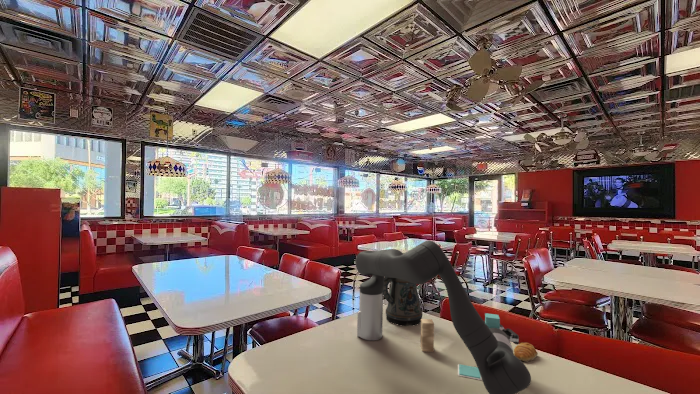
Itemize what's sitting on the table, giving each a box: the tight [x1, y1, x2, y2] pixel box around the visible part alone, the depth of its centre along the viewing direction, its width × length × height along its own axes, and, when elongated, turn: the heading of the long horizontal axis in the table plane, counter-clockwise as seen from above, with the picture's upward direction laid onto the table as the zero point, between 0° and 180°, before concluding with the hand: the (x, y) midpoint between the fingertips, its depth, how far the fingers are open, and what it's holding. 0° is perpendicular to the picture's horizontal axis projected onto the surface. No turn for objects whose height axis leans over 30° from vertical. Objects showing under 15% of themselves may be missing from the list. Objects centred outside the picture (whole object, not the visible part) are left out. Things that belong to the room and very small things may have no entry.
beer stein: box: [383, 277, 423, 327], centre depth 139 cm, size 16×19×25 cm
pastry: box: [513, 342, 539, 363], centre depth 107 cm, size 9×7×4 cm
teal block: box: [484, 312, 501, 328], centre depth 101 cm, size 4×4×10 cm
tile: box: [457, 363, 482, 381], centre depth 96 cm, size 7×7×1 cm
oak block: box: [419, 318, 435, 353], centre depth 112 cm, size 4×4×10 cm
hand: (491, 325), depth 103 cm, fingers closed on teal block, 4 cm apart
